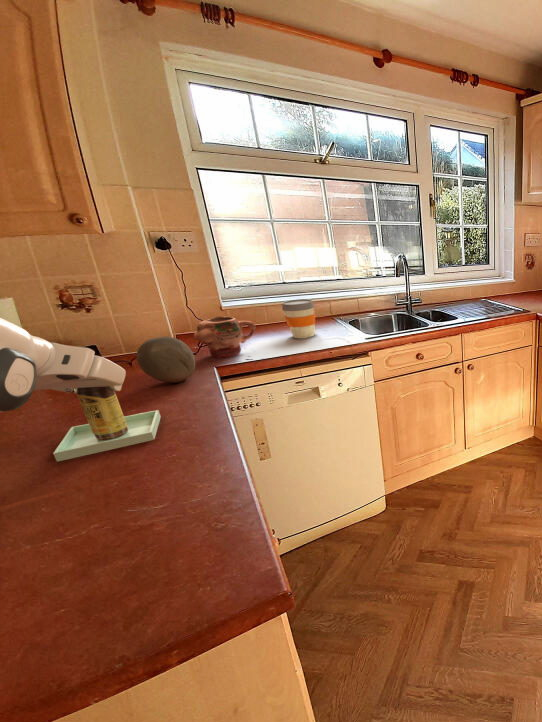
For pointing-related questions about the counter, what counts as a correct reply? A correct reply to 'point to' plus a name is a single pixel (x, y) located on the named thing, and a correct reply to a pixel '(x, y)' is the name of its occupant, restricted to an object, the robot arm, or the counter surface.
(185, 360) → the cantaloupe
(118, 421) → the sauce bottle
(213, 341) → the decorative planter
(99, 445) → the plastic tray
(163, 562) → the counter surface
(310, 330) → the reusable coffee cup
